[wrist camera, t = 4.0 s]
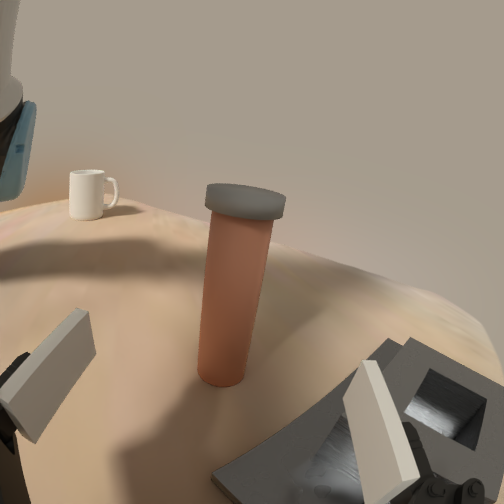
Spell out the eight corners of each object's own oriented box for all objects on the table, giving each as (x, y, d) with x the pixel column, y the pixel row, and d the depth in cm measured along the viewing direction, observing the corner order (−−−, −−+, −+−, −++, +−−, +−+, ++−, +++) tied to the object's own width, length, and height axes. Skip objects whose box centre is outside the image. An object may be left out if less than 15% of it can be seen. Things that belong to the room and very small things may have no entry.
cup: (74, 211, 59) (75, 169, 55) (120, 212, 63) (122, 170, 60) (65, 221, 52) (65, 174, 48) (116, 222, 56) (118, 174, 52)
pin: (214, 400, 20) (241, 199, 14) (180, 362, 23) (192, 182, 18) (261, 376, 23) (302, 200, 18) (225, 345, 26) (249, 184, 21)
